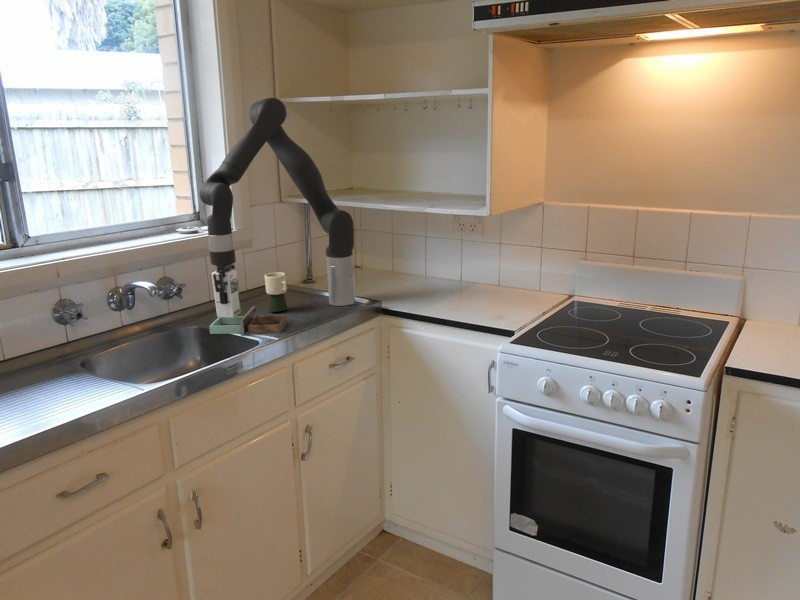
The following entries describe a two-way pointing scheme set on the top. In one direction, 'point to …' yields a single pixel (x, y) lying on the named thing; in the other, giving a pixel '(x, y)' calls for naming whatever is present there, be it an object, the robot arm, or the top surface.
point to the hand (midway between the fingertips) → (227, 300)
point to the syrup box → (232, 293)
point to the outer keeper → (228, 329)
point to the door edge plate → (247, 320)
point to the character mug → (276, 291)
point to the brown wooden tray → (267, 320)
